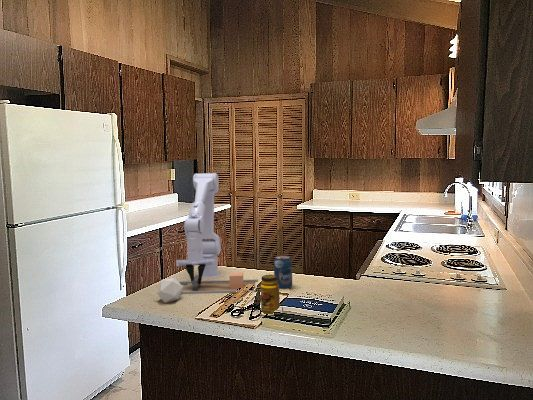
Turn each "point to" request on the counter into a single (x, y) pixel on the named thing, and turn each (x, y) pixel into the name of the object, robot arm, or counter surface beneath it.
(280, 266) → the soda can
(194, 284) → the large flat tan board
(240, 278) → the cube
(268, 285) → the condiment
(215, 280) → the lane rails
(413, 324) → the counter surface
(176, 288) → the die
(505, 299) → the counter surface
